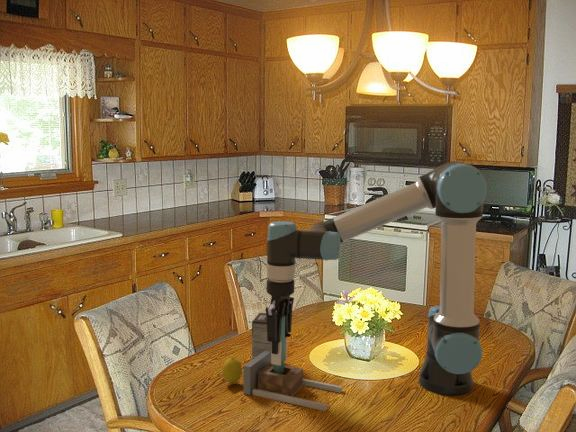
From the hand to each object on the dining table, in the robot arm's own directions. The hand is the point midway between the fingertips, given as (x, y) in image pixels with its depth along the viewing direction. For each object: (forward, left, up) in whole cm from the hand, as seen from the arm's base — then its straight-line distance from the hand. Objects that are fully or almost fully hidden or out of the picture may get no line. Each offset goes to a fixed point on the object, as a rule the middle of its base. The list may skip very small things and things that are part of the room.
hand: (278, 361), depth 168 cm
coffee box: (+11, -14, -9) cm, 20 cm away
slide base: (-5, 0, -9) cm, 10 cm away
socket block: (-1, 0, -8) cm, 8 cm away
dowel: (0, 0, -3) cm, 3 cm away
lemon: (+14, +1, -9) cm, 17 cm away
